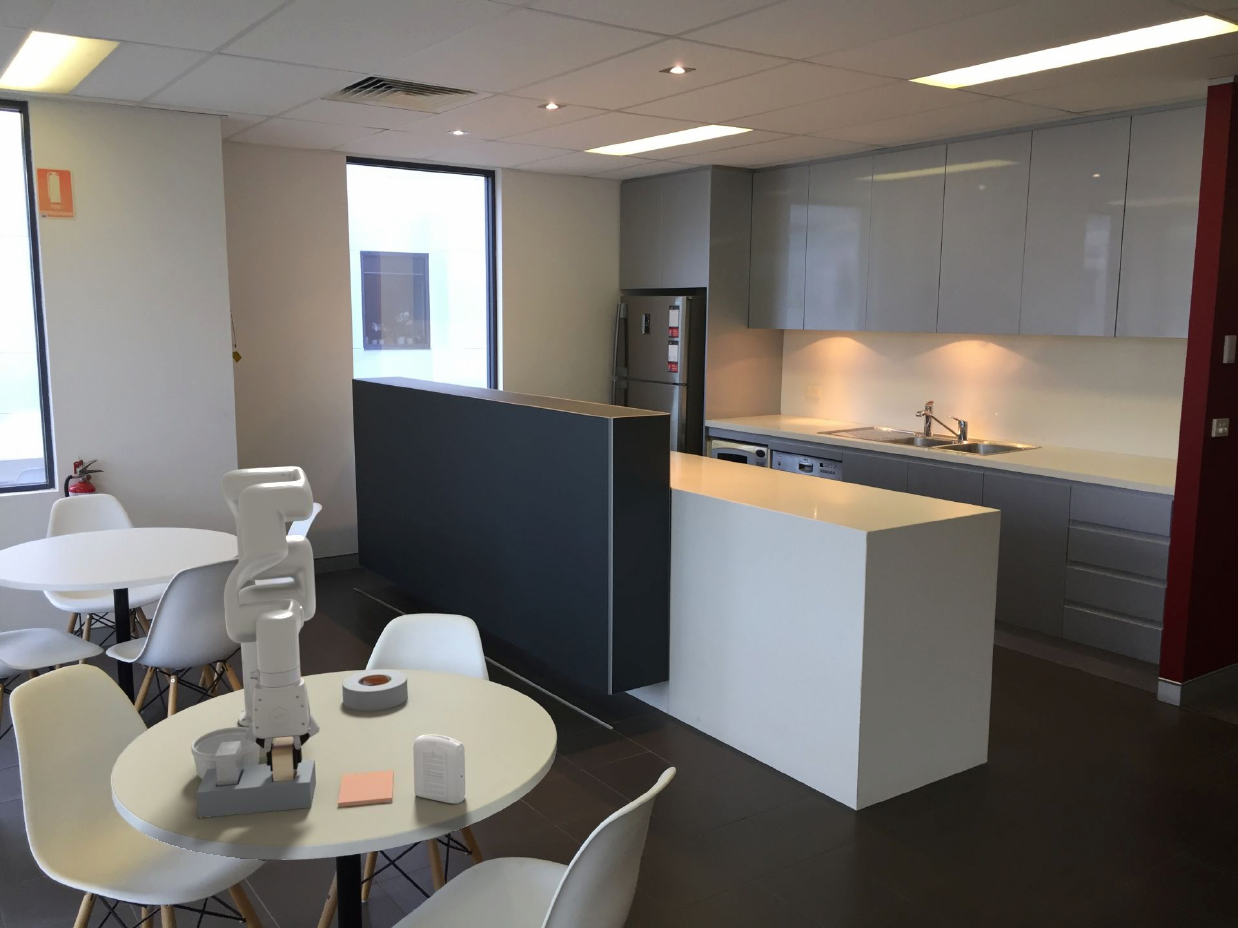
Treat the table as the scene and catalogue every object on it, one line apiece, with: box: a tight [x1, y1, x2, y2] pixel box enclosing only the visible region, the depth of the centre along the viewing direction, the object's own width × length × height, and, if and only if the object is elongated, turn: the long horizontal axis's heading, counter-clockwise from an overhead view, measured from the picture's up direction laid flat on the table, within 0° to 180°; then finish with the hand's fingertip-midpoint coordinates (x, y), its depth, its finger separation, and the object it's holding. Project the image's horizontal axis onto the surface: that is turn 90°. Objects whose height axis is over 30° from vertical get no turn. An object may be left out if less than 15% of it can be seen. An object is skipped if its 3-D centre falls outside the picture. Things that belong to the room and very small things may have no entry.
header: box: [196, 758, 317, 818], centre depth 190 cm, size 10×20×5 cm, turn 102°
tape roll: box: [341, 669, 409, 712], centre depth 240 cm, size 15×15×5 cm
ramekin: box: [190, 726, 261, 781], centre depth 202 cm, size 13×13×7 cm
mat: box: [337, 769, 395, 808], centre depth 194 cm, size 12×10×1 cm
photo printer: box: [412, 733, 466, 805], centre depth 190 cm, size 10×4×12 cm, turn 69°
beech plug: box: [272, 736, 297, 781], centre depth 190 cm, size 6×4×11 cm, turn 12°
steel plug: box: [215, 741, 243, 787], centre depth 188 cm, size 6×4×11 cm, turn 12°
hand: (284, 766), depth 190 cm, fingers closed on beech plug, 3 cm apart
